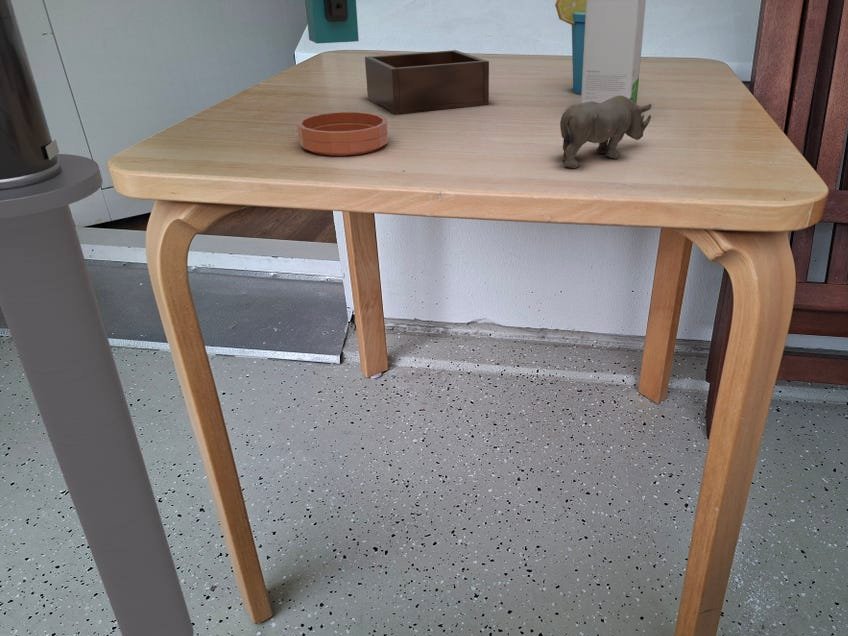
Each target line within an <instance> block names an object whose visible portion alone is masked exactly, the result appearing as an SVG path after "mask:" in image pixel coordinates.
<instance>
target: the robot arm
mask: <svg viewBox="0 0 848 636" xmlns="http://www.w3.org/2000/svg"><path fill="white" fill-rule="evenodd" d="M324 12H325V18H326V20H327V21H330V22H344V21H346V20H347V19H348V8H347V0H324ZM27 53H28V52H27V49H26V46H25V43H24V39H23V35H22V32H21V29H20V25H19V23H18V19H17V16H16V11H15V9H14V6H13V1H12V0H0V190H5V189H13V188H19V187H24V186H28V185H33V184H36V183H40V182H43V181H46V180H48V179H51V178H53V177H55V176H56V175H58V174H59V173H60V172H61V170H62V169H61V165H60V162H59V159H58V158H57V156H56V155H57V154H60V149H59V146H58V143H57V140H56V139H54V140H53V139H52V136H51V135H52V134H51V132H50V128H49V125H48V122H47V119H46V115H45V111H44V108H43V105H42V101H41V98H40V94H39V91H38V87H37V83H36V80H35V77H34V73H33V70H32V66H31V64H30V60H29V56H28V54H27Z"/></svg>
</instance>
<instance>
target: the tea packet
mask: <svg viewBox="0 0 848 636" xmlns="http://www.w3.org/2000/svg"><path fill="white" fill-rule="evenodd" d="M304 1H305V2H304V3H305V11H306V21H307V32H308V40H309V41H311V42H312V43H314V44H333V43H336V44H337V43H354V42H359V40H360V39H359V28H358V27H359V25H358V10H357V9H358V8H357V0H347V8H348V19H347V20H346V21H344V22H330V21H327V20H326V18H325V12H324V0H304Z"/></svg>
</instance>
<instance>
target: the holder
mask: <svg viewBox="0 0 848 636" xmlns="http://www.w3.org/2000/svg"><path fill="white" fill-rule="evenodd" d="M364 64H365V66H364V67H365V77H366V92H367V99H368V100H369V101H371V102H372V103H374V104H376V105H378V106H379V107H381V108H383V109H385V110H386V111H388V112H390V113H391V114H393V115H401V114H402V115H404V114H412V113H419V112H421V113H422V112H429V111H430V112H431V111H441V110H448V109H449V110H450V109H456V108H457V109H459V108H467V107H478V106H487V105H489V103H490V94H489V93H490V91H489V90H490V61H489V60H486V59H483V58H481V57H477V56H474V55H471V54H468V53H465V52H462V51H460V50H457V49H453V50H439V51H437V50H436V51H425V52H412V53H399V54H397V53H396V54H385V55H372V56H371V55H369V56H364Z"/></svg>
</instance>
